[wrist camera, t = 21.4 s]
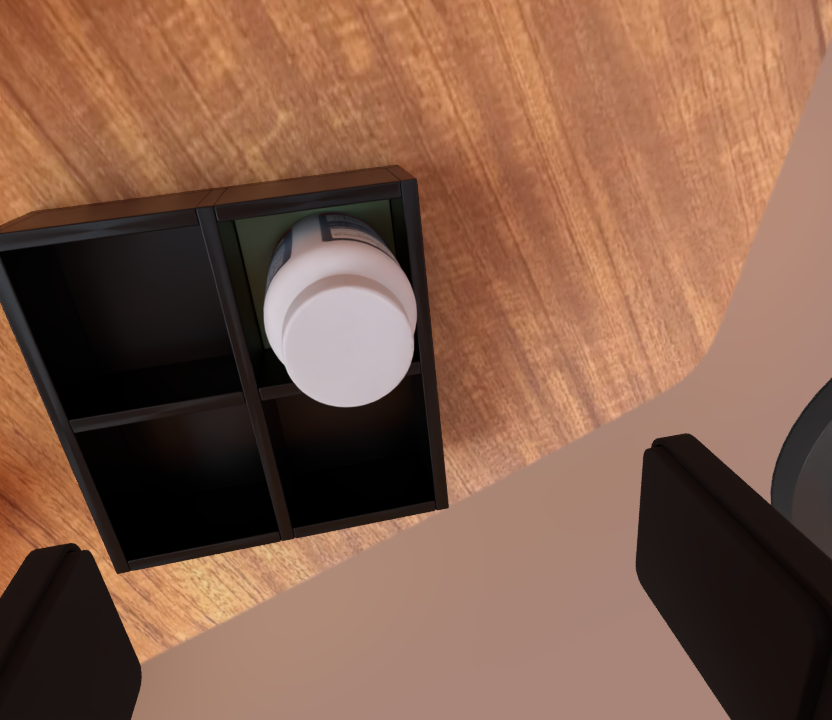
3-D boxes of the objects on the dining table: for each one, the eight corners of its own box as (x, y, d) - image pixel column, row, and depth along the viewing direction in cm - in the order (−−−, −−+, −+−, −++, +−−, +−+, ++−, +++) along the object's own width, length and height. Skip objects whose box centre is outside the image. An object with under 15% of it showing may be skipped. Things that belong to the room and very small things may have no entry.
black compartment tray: (398, 164, 25) (417, 178, 21) (429, 453, 31) (449, 508, 27) (30, 211, 23) (-29, 237, 19) (142, 507, 29) (116, 574, 25)
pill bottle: (306, 346, 27) (309, 454, 19) (246, 243, 24) (220, 316, 16) (412, 295, 27) (459, 382, 19) (361, 188, 24) (391, 233, 16)
